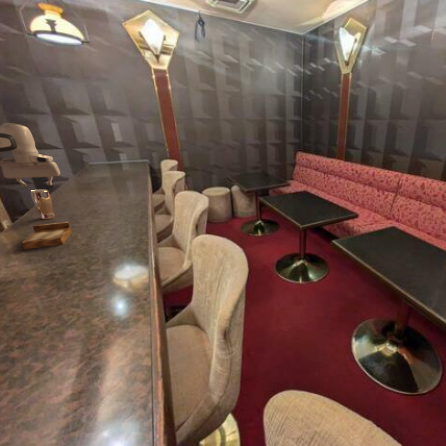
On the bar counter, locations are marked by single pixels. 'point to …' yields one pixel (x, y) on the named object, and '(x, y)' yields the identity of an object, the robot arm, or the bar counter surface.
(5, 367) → the bar counter surface
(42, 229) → the shallow wooden tray
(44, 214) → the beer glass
